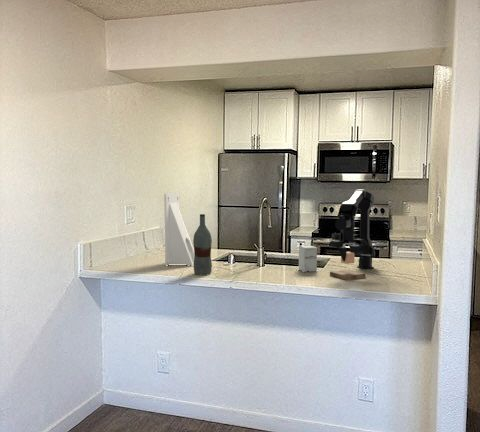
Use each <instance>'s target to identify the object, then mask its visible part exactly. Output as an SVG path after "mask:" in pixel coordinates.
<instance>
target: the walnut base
mask: <svg viewBox="0 0 480 432" xmlns="http://www.w3.org/2000/svg"><path fill="white" fill-rule="evenodd" d="M329 276H330V277H334V278H338V279H341V280H343V281H349V280H357V279H358V280H359V279H366V273H365V272H360V271H356V270H352V269H343V270H332V271H329Z"/></svg>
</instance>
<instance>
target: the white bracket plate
mask: <svg viewBox="0 0 480 432" xmlns="http://www.w3.org/2000/svg"><path fill="white" fill-rule="evenodd" d="M163 200H164V258H165V259H164V262H165V263H164V265H169V264H186V265H193V264H194V263H193V262H194V257H195V255H194V244H193V241H192V240H191V237H190V235H189V232H188V230H187V226H186V223H185V222H184V218H183V215H182V213H181V211H180V208H181V207H180V204H181V203H180V192H169V193H168V192H167V193H166V192H165V193H164V199H163Z"/></svg>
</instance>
